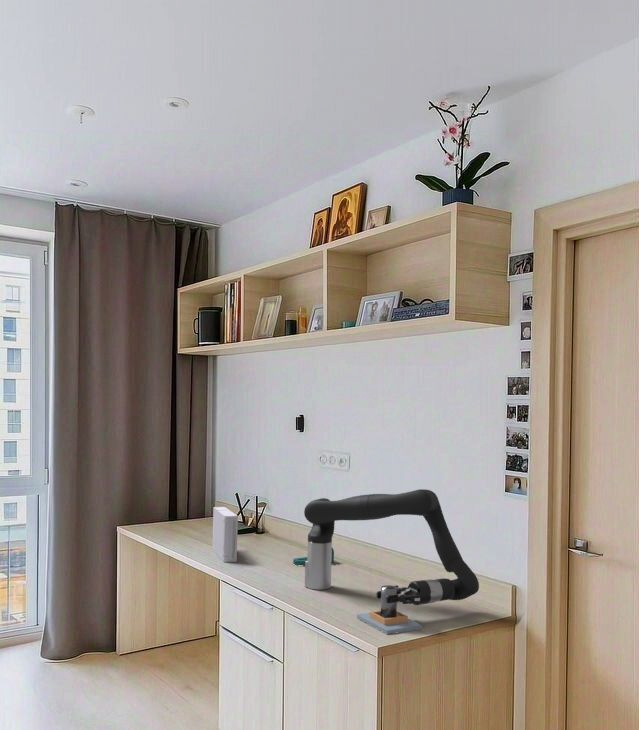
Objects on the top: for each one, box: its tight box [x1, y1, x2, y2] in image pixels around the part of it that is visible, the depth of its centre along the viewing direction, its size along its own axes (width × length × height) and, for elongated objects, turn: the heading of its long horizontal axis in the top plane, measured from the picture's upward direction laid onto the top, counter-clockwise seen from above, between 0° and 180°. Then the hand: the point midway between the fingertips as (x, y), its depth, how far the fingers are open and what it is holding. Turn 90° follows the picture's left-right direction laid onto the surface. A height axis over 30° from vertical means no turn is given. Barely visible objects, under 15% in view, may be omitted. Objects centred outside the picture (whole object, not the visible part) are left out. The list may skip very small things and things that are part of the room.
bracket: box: [292, 547, 335, 566], centre depth 319 cm, size 18×7×8 cm, turn 121°
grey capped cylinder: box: [380, 584, 398, 618], centre depth 235 cm, size 5×5×9 cm
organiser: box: [356, 610, 423, 635], centre depth 235 cm, size 18×13×3 cm
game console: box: [211, 506, 239, 563], centre depth 330 cm, size 6×27×20 cm, turn 19°
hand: (382, 597), depth 234 cm, fingers closed on grey capped cylinder, 5 cm apart
